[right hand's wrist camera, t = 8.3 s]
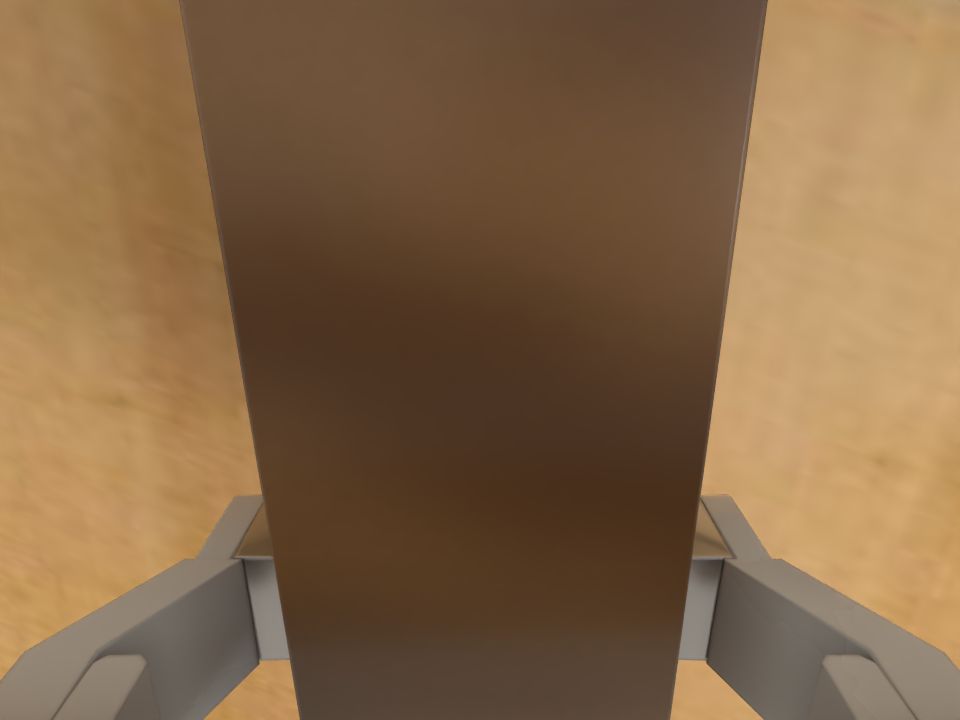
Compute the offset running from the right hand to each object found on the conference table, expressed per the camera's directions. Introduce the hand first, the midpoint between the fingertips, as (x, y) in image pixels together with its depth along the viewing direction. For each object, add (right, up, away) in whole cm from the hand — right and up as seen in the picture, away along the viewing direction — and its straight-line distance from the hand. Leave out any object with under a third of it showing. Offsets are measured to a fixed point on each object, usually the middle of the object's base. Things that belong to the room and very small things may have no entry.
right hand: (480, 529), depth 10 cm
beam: (0, +24, -7) cm, 25 cm away
